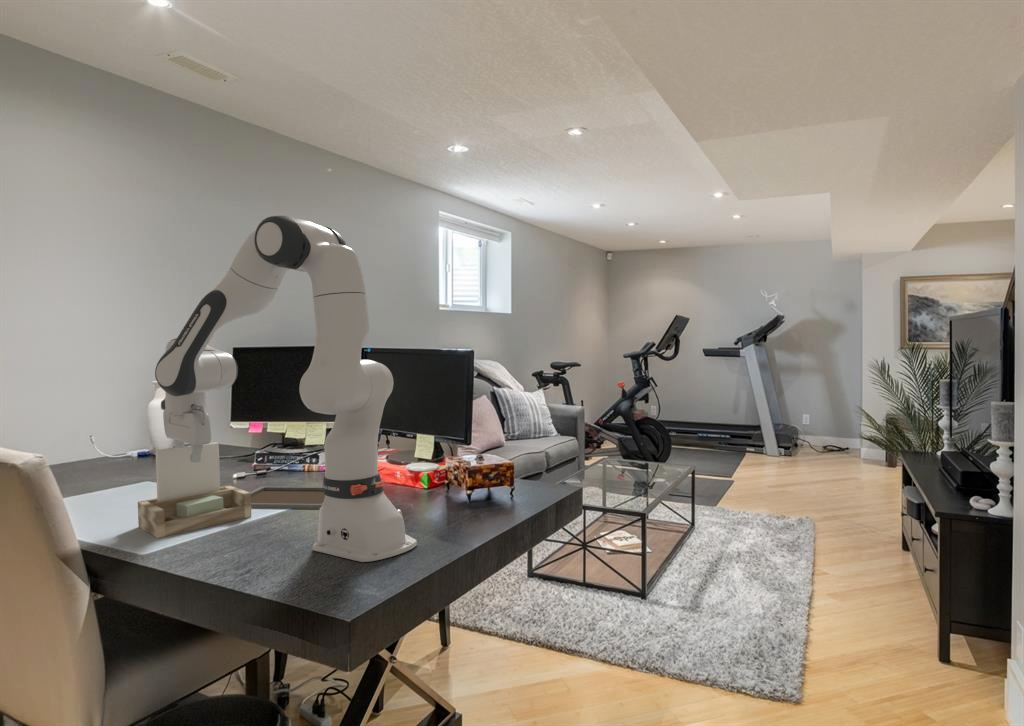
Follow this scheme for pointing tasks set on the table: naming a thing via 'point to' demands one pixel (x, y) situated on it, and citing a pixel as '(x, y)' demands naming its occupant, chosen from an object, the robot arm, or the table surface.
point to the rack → (157, 515)
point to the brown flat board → (287, 497)
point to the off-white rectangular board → (187, 472)
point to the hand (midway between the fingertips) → (188, 459)
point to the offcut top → (199, 506)
